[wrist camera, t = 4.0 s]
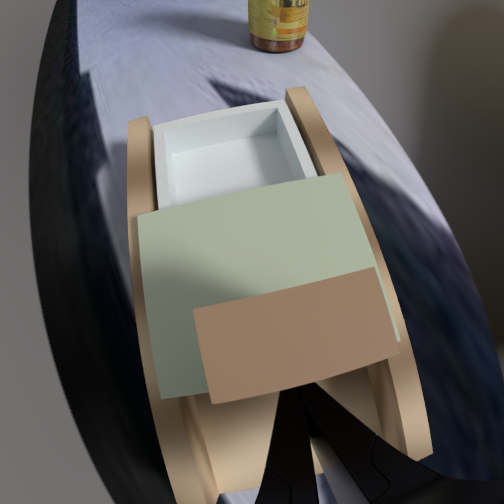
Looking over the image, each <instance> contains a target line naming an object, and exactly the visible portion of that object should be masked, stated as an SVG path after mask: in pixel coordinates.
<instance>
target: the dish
mask: <svg viewBox="0 0 504 504" xmlns="http://www.w3.org/2000/svg"><path fill="white" fill-rule="evenodd" d="M154 149H155V167H156V183H157V196H158V208H159V210H161V209H165V208H169V207H173V206H177V205H182V204H186V203H190V202H194V201H199V200H203V199H207V198H212V197H216V196H221V195H226V194H230V193H235V192H240V191H244V190H249V189H254V188H259V187H264V186H269V185H275V184H280V183H285V182H290V181H296V180H301V179H307V178H313V177H318V176H317V173H316V171H315V168H314V166H313V163H312V161H311V158H310V156H309V154H308V151H307V149H306V147H305V144H304V142H303V140H302V137H301V135H300V133H299V131H298V128H297V126H296V124H295V122H294V119H293V117H292V115H291V113H290V111H289V108H288V106H287V104H286V102H285V100H278V101H271V102H264V103H257V104H251V105H245V106H239V107H234V108H228V109H223V110H218V111H213V112H208V113H204V114H199V115H195V116H190V117H186V118H182V119H178V120H174V121H170V122H166V123H162V124H158V125H155V126H154Z"/></svg>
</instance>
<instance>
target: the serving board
mask: <svg viewBox="0 0 504 504" xmlns="http://www.w3.org/2000/svg"><path fill="white" fill-rule="evenodd" d="M285 102H286V104H287V106H288V108H289V111H290V113H291V115H292V117H293V119H294V122H295V124H296V126H297V128H298V131H299V133H300V135H301V137H302V140H303V142H304V144H305V147H306V149H307V151H308V154H309V156H310V158H311V161H312V163H313V166H314V168H315V171H316V173H317V176H318V177H319V176H325V175H331V174H337V173H341V174H342V177H343V179H344V181H345V184H346V186H347V188H348V191H349V193H350V195H351V198H352V200H353V202H354V205H355V207H356V210H357V212H358V215H359V217H360V220H361V222H362V225H363V227H364V230H365V233H366V235H367V238H368V241H369V243H370V246H371V249H372V252H373V254H374V257H375V260H376V263H377V266H378V269H379V271H380V274H381V277H382V280H383V283H384V286H385V289H386V293H387V296H388V299H389V302H390V305H391V309H392V312H393V315H394V319H395V322H396V325H397V329H398V332H399V336H400V340H401V341H399V342H398V346H399V349H400V354H397V355H395V356H392V357H390V358H387V359H384V360H381V361H379V362H376V363H373V364H370V365H367V366H364V367H361V368H358V369H355V370H352V371H349V372H346V373H343V374H339V375H336V376H333V377H330V378H326V379H323V380H319V381H316V383H317V384H318V385H319V386H320V387H321V388H323V389H324V390H325V391H326V392H327V393H328V394H329V395H331V396H332V397H333V398H334V399H335V400H336V401H338V402H339V403H340V404H341V405H342V406H344V407H345V408H346V409H347V410H348V411H349V412H351V413H352V414H353V415H354V416H355V417H357V418H358V419H359V420H360V421H361V422H363V423H364V424H365V425H366V426H368V427H369V428H370V429H371V430H372V431H374V432H375V433H376V435H379V436H380V437H381V438H382V439H384V440H385V441H386V442H388V443H389V444H390V445H392V446H393V447H394V448H396V449H397V450H399V451H400V452H402V453H404V454H405V455H407V456H408V457H410V458H412V459H414V460H415V461H418V460H420V459H422V458H424V457H426V456H428V455H430V454H432V453H433V451H432V444H431V437H430V431H429V425H428V420H427V414H426V409H425V404H424V399H423V394H422V389H421V385H420V380H419V376H418V372H417V368H416V363H415V359H414V355H413V352H412V348H411V344H410V340H409V337H408V333H407V329H406V326H405V323H404V319H403V316H402V312H401V309H400V306H399V303H398V299H397V296H396V293H395V290H394V287H393V284H392V281H391V278H390V275H389V272H388V269H387V266H386V264H385V261H384V258H383V255H382V253H381V250H380V247H379V244H378V242H377V239H376V237H375V234H374V231H373V229H372V226H371V224H370V221H369V219H368V216H367V214H366V211H365V209H364V207H363V204H362V202H361V199H360V197H359V195H358V192H357V190H356V188H355V186H354V183H353V181H352V179H351V177H350V174H349V172H348V170H347V168H346V166H345V164H344V161H343V159H342V157H341V155H340V153H339V151H338V149H337V147H336V145H335V143H334V141H333V139H332V137H331V135H330V133H329V131H328V129H327V127H326V125H325V123H324V121H323V119H322V117H321V115H320V113H319V111H318V110H317V108H316V106H315V104H314V102H313V100H312V99H311V97H310V95H309V93H308V91H307V90H306V88H305V86H304V87H294V88H286V95H285ZM157 210H159V208H158V196H157V183H156V167H155V149H154V132H153V129H152V127H151V124H150V122H149V119H148V117H147V116H145V117H142V118H138V119H135V120H132V121H128V140H127V217H128V239H129V255H130V268H131V280H132V290H133V299H134V308H135V316H136V324H137V331H138V338H139V345H140V351H141V358H142V364H143V369H144V375H145V380H146V386H147V391H148V396H149V400H150V405H151V410H152V414H153V419H154V423H155V427H156V431H157V436H158V439H159V443H160V447H161V451H162V455H163V458H164V462H165V466H166V469H167V473H168V476H169V479H170V483H171V486H172V489H173V492H174V495H175V498H176V501H177V504H216V502H217V499H218V496H219V494H220V493H228V492H236V491H242V490H249V489H255V488H260V486H261V482H262V478H263V474H264V469H265V467H266V466H265V465H266V460H267V455H268V450H269V445H270V440H271V435H272V430H273V425H274V419H275V414H276V408H277V403H278V397H279V392H280V391H277V392H273V393H268V394H264V395H259V396H255V397H250V398H245V399H240V400H235V401H230V402H224V403H218V404H212V402H211V398H210V394H209V392H208V393H202V394H195V395H189V396H182V397H175V398H167V399H161V396H160V391H159V386H158V381H157V376H156V370H155V365H154V359H153V353H152V347H151V341H150V335H149V328H148V321H147V314H146V306H145V298H144V290H143V281H142V271H141V261H140V249H139V235H138V219H137V216H138V215H141V214H145V213H149V212H153V211H157ZM311 449H312V455H313V462H314V469H315V475H317V474H321V473H324V471H323V469H322V467H321V465H320V462H319V460H318V458H317V456H316V454H315V451H314V449H313V447H312V445H311Z"/></svg>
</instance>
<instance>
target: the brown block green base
mask: <svg viewBox="0 0 504 504" xmlns="http://www.w3.org/2000/svg"><path fill="white" fill-rule="evenodd" d="M137 219H138V235H139V249H140V261H141V271H142V281H143V290H144V298H145V306H146V314H147V321H148V328H149V335H150V341H151V347H152V353H153V359H154V365H155V370H156V376H157V381H158V386H159V391H160V396H161V399H167V398H175V397H182V396H189V395H195V394H202V393H208V392H209V394H210V398H211V402H212V404H218V403H224V402H230V401H235V400H240V399H245V398H250V397H255V396H259V395H264V394H268V393H273V392H277V391H281V390H285V389H289V388H293V387H297V386H301V385H305V384H308V383H312V382H316V381H319V380H323V379H326V378H330V377H333V376H336V375H339V374H343V373H346V372H349V371H352V370H355V369H358V368H361V367H364V366H367V365H370V364H373V363H376V362H379V361H381V360H384V359H387V358H390V357H392V356H395V355H397V354H400V349H399V346H398V342H399V341H401V340H400V336H399V332H398V329H397V325H396V322H395V319H394V315H393V312H392V309H391V305H390V302H389V299H388V296H387V293H386V289H385V286H384V283H383V280H382V277H381V274H380V271H379V269H378V266H377V263H376V260H375V257H374V254H373V252H372V249H371V246H370V243H369V241H368V238H367V235H366V233H365V230H364V227H363V225H362V222H361V220H360V217H359V215H358V212H357V210H356V207H355V205H354V202H353V200H352V198H351V195H350V193H349V191H348V188H347V186H346V184H345V181H344V179H343V177H342V174H341V173H337V174H331V175H325V176H319V177H313V178H307V179H301V180H296V181H290V182H285V183H280V184H275V185H269V186H264V187H259V188H254V189H249V190H244V191H240V192H235V193H230V194H226V195H221V196H216V197H212V198H207V199H203V200H199V201H194V202H190V203H186V204H182V205H177V206H173V207H169V208H165V209H161V210H157V211H153V212H149V213H145V214H141V215H138V216H137Z"/></svg>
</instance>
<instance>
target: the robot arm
mask: <svg viewBox="0 0 504 504" xmlns="http://www.w3.org/2000/svg"><path fill="white" fill-rule="evenodd" d="M311 445H312V447H313V449H314V451H315V454H316V456H317V458H318V460H319V462H320V465H321V467H322V469H323V471H324V473H325V476H326V478H327V480H328V482H329V484H330V487H331V489H332V491H333V493H334V495H335V497H336V500H337V502H338V504H504V481H503V482H497V481H473V480H460V479H453V478H449V477H446V476H444V475H441V474H439V473H437V472H435V471H434V470H432V469H430V468H428V467H426V466H424V465H423V464H421V463H419V462H417V461H415V460H414V459H412V458H410V457H408V456H407V455H405V454H404V453H402V452H400V451H399V450H397V449H396V448H394V447H393V446H392V445H390V444H389V443H388V442H386V441H385V440H384V439H382V438H381V437H380V436H379V435H376V433H375V432H374V431H372V430H371V429H370V428H369V427H368V426H366V425H365V424H364V423H363V422H361V421H360V420H359V419H358V418H357V417H355V416H354V415H353V414H352V413H351V412H349V411H348V410H347V409H346V408H345V407H344V406H342V405H341V404H340V403H339V402H338V401H336V400H335V399H334V398H333V397H332V396H331V395H329V394H328V393H327V392H326V391H325V390H324V389H323V388H321V387H320V386H319V385H318V384H317V383H316V382H312V383H308V384H305V385H301V386H297V387H293V388H289V389H285V390H281V391H280V392H279V397H278V403H277V408H276V414H275V419H274V425H273V430H272V435H271V440H270V445H269V450H268V455H267V460H266V465H265V466H266V467H265V469H264V474H263V478H262V482H261V486H260V490H259V493H258V496H257V498H256V501H255V504H319V498H318V490H317V483H316V476H315V469H314V462H313V455H312V449H311Z"/></svg>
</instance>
